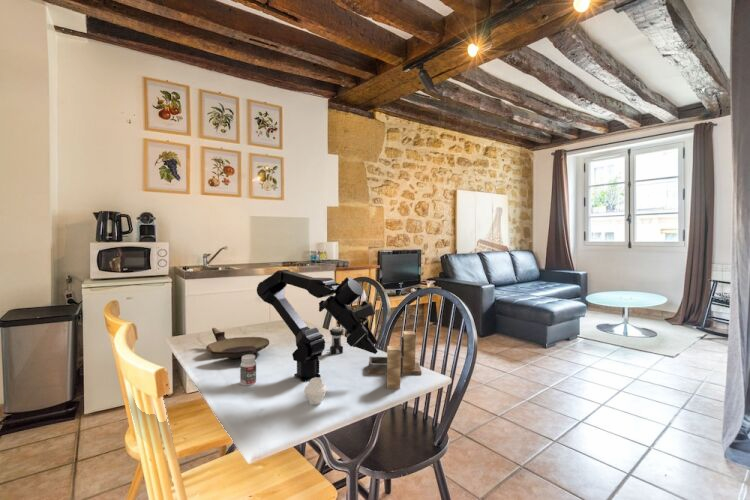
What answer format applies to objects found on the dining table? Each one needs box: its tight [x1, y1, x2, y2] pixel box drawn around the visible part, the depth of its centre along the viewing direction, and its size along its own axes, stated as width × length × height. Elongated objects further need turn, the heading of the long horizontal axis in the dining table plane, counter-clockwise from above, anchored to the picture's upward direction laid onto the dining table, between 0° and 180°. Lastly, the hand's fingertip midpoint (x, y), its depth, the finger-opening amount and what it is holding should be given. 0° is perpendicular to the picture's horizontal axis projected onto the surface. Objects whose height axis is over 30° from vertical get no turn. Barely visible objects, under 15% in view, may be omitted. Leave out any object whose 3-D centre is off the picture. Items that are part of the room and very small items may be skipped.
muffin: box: [304, 377, 328, 406], centre depth 99 cm, size 6×6×7 cm
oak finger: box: [386, 345, 403, 389], centre depth 111 cm, size 5×4×12 cm
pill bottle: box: [239, 354, 257, 387], centre depth 111 cm, size 5×5×8 cm
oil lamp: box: [206, 327, 270, 359], centre depth 138 cm, size 22×30×8 cm
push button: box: [325, 326, 344, 355], centre depth 140 cm, size 7×5×10 cm
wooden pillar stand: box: [367, 330, 422, 376], centre depth 124 cm, size 18×8×13 cm, turn 90°
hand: (376, 347), depth 110 cm, fingers open, 9 cm apart
